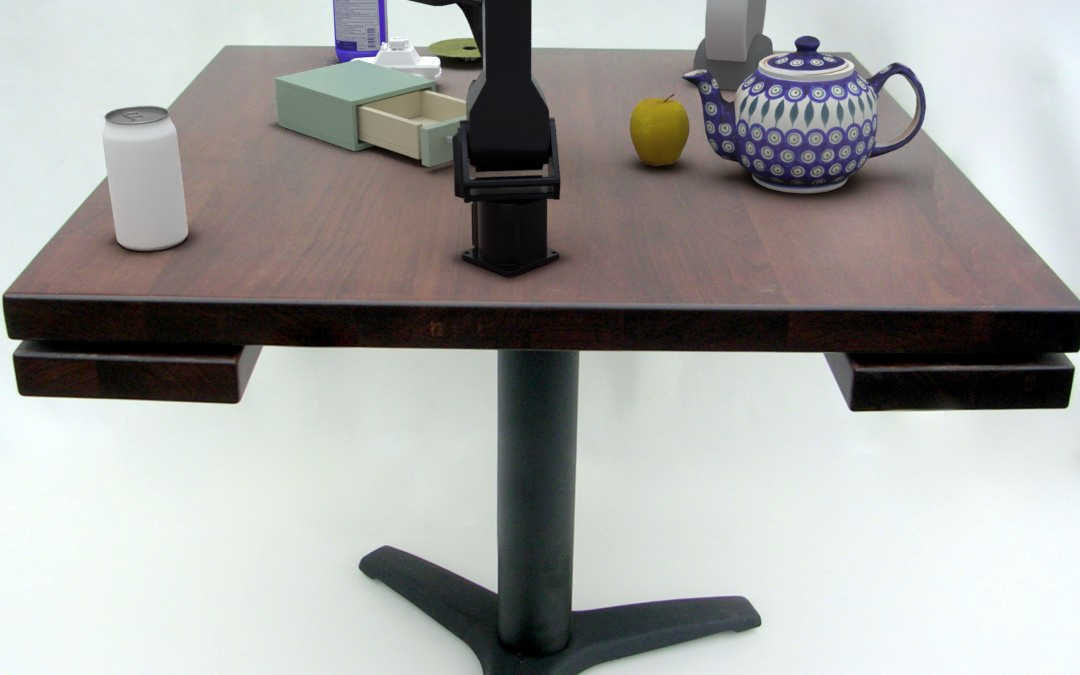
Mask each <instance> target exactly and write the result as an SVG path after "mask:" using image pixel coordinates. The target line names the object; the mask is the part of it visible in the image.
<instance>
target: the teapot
mask: <svg viewBox="0 0 1080 675" xmlns="http://www.w3.org/2000/svg"><path fill="white" fill-rule="evenodd" d="M793 43H794V46H795V48H796V51H795V52H784V53H778V54H777V53H775V54H773V55H771V56H768V57H766V58H764V59H762V60H761V61H760V62H759V67H758V68H757V69H756V71H755V72H754V73H753V74H752V75H750V76H749V77H748V78H746V79H745V80H744V81H743V83H742V84H741V85H740V87H739V88H738V90H736V92H735V95H734V97H733V100H731V101H728V100H726V99H725V98H724V97H723V94H722V92H721V89H719V85H718V84H717V82H716V80H715V79H714V77H713V75H712V74H711V73H710V72H709V71H708V70H704V69H699V70H695V71H693V70H692V71H689V72H687V73H685V74H683V75H682V77H681V78H682V79H683V80H685V81H686V82H688V83H690V84H693V85H694V86H695V85H696V86H697V87H696V86H695V87H696V88H697V90H698V92H699V96H700V100H701V107H702V115H703V116H702V117H703V123H704V130H705V132H704V133H705V135H706V139H707V142H708V144H709V145H710V147H711V148H712V150H713V151H714V153H715V154H716V155H717V156H718V157H720V158H721V159H723V160H726V161H730V162H733V163H734V162H735V163H738V164H739V165H740V166H741V167H742V168H743V169H744V170H746V171H747V172H749V173H751V176H752V179H753V180H754V181H755V182H756V183H757V184H759V185H761V186H762V187H765V188H768V189H771V190H774V191H779V192H784V193H790V194H791V193H794V194H818V193H826V192H830V191H831V192H832V191H835V190H837V189H839V188H841V187H843V186H844V185H845V184H846V182H847V181H848V178H850V177H851V176H853V175H854V174H856V173H857V172H858V171H859V170H861V168H862V167H863V166H864V165H865V164H866V163H867V161H868V160H869V159H873V158H876V157H880V156H884V155H886V154H890V153H892V152H894V151H897V150H899V149H901V148H902V147H904V146H905V145H907V144H909V143H910V142H911V141H912V140H913V139H914V138H915V137H916V136H917V134H918V133H919V131H920V130H921V128H922V126H923V123H924V121H925V117H926V112H927V111H926V110H927V102H926V101H927V100H926V93H925V89H924V86H923V84H922V83H921V81H920V79H919V77H918V76H917V74H916V73H915V72H914V71H913V70H912V68H910V67H909V66H907V65H906V64H904V63H903V62H892V63H890V64H888V65H886V66H884V67H883V68H882V69H880V70H879V71H878V72H876V73H875V74H874V75H872V76H871V77H869V78H865V77H864V76H863V75H861V74H860V73H859V72H858V71H856V70H855V64H854V63H853V62H852V61H851V60H848V59H847V58H844V57H841V56H838V55H832V54H827V53H822V52H818V51H817V50H818V49H819V48H820V46H821V41H820V39H819V38H817V37H815V36H812V35H802V36H800V37H797V38H796V39H795V40H794V42H793ZM895 75H900V76H902V77H904V79H905V80H906V81H907V82H908V83H909V84H910V86H911V88H912V90H913V92H914V94H915V101H916V102H915V103H916V104H915V112H914V116H913V118H912V121H911V122H910V124H909V125H908V126H907V128H906V129H905V130H904V131H903V132H902V133H901V134H900V135H897V137H895V138H893V139H890V140H888V141H885V142H881V141H878V140H876V138H877V131H878V120H879V119H878V118H879V117H878V116H879V114H878V113H879V112H878V100H879V98H880V97H881V94H882V91H883V89H884V87H885V85H886V83H887V81H888V80H889V78H891V77H892V76H895Z"/></svg>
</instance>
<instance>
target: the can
mask: <svg viewBox="0 0 1080 675" xmlns="http://www.w3.org/2000/svg"><path fill="white" fill-rule="evenodd" d="M104 120H105V123H104V125H103V129H102V133H101V138H102V145H103V146H102V147H103V154H104V160H105V161H104V162H105V168H106V176H107V182H108V183H107V184H108V190H109V197H110V204H111V210H112V217H113V224H114V231H115V238H116V241H117V243H118V244H120V245H121V246H122V248H124V249H126V250H131V251H134V252H157V251H162V250H167V249H171V248H175V247H177V246H178V245H181V244H182V243H183V242H184V241H185V239H186V238H187V237H188V235H189V226H188V216H187V209H186V200H185V190H184V183H183V182H184V181H183V175H182V164H181V157H180V149H179V141H178V133H177V128H176V126H175V124H174V122H173V120H172V119H171V117H170V110H169V109H168V108H165V107H163V106H158V105H131V106H124V107H119V108H116V109H112V110H109V111H108V112H107V113H105V115H104Z"/></svg>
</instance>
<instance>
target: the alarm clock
mask: <svg viewBox="0 0 1080 675" xmlns="http://www.w3.org/2000/svg"><path fill="white" fill-rule="evenodd" d="M767 1H768V0H706V5H705V17H704V37H703V39H702V40H701V41H700V42H699V45H698V46H697V48H696V50H695V54H694V59H693V65H692V68H693V69H692V71H695V70H699V69H704V70H708V71H709V72H710V73H711V74H712V75H713V77H714V79H715V80H716V82H717V84H718V85H719V89H720V90H726V91H727V90H728V91H737V90H738V88H739V87H740V85H741V84H742V83H743V81H744V80H745V79H746V78H748V77H749V76H750V75H752V74H753V73H754V72H755V71H756V69H757V68H758V67H759V62H760V61H761V60H762V59H764V58H766V57H768V56H771V55H774V46H773V41H772V39H771V38H770V37H769V36H768V35H765V34H763V32H764V27H765V21H766V12H767V11H766V10H767ZM694 86H695V87H696V88H698V87H697V86H696V85H694Z"/></svg>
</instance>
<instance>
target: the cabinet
mask: <svg viewBox="0 0 1080 675" xmlns="http://www.w3.org/2000/svg"><path fill="white" fill-rule="evenodd" d="M274 82H275V95H276V107H277V118H278V126H279V127H282V128H284V129H288V130H291V131H293V132H296V133H299V134H303V135H305V136H308V137H311V138H314V139H317V140H320V141H323V142H325V143H329V144H331V145H335V146H336V147H337V146H338V147H340V148H343V149H346V150H349V151H351V152H357V151H361V150H365V149H369V148H372V147H377V146H376V145H373V144H370V143H367V142H364V141H361V140H358V134H357V117H356V105H360V104H364V103H368V102H372V101H376V100H380V99H384V98H388V97H392V96H396V95H400V94H404V93H408V92H412V91H416V90H420V89H425V90H429V91H433V92H436V93H437V87H436V82H437V81H436V80H434V79H427V78H423V77H419V76H416V75H412V74H409V73H405V72H401V71H398V70H394V69H390V68H387V67H383V66H379V65H376V64H372V63H368V62H365V61H361V60H354V61H350V62H345V63H342V62H340V63H337V64H333V65H328V66H327V65H326V66H322V67H318V68H315V69H310V70H305V71H300V72H296V73H291V74H287V75H281V76H277V77H275V78H274Z"/></svg>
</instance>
